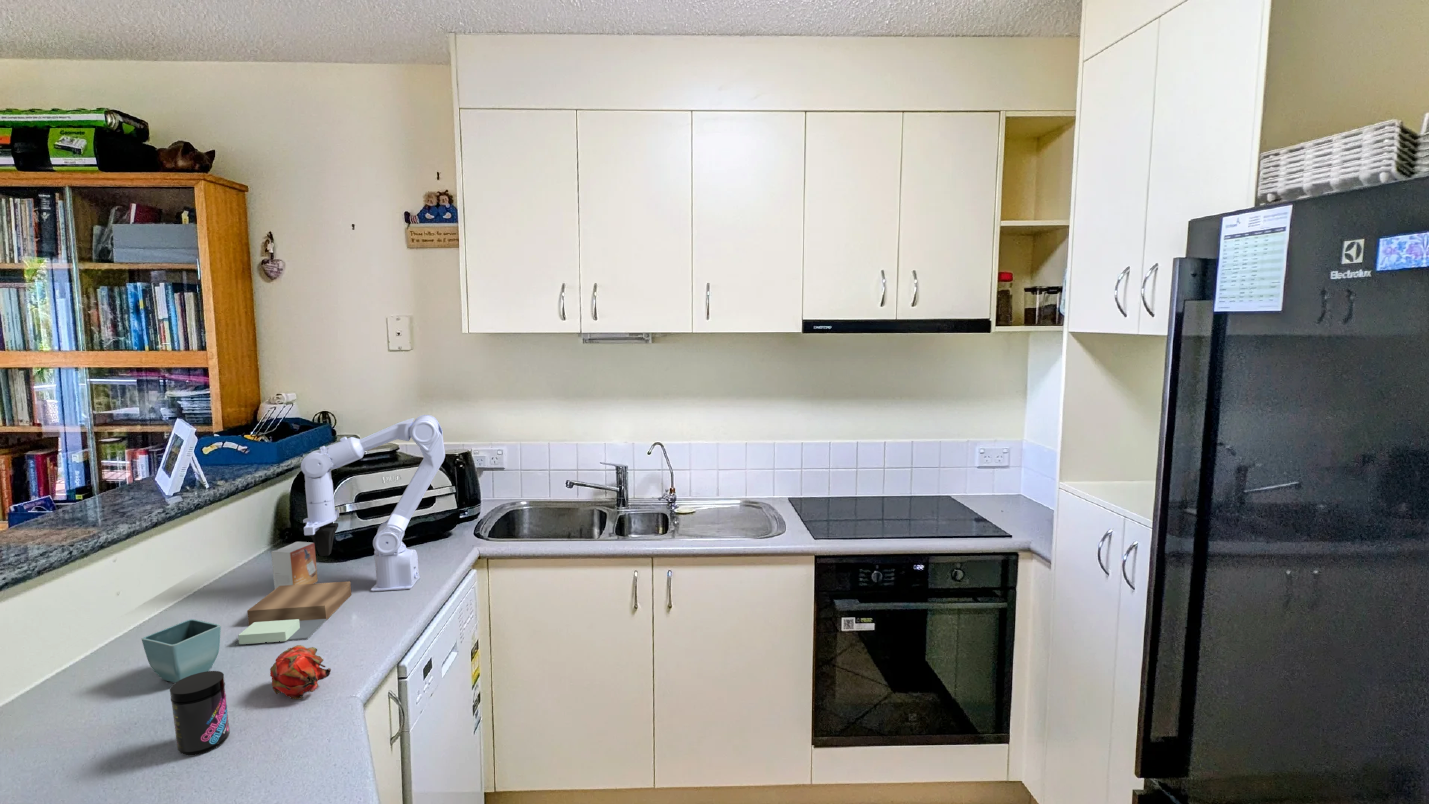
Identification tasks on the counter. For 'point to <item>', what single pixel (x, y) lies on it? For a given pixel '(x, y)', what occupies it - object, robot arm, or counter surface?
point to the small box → (294, 564)
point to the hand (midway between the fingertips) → (325, 554)
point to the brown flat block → (300, 602)
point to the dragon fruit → (297, 671)
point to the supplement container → (200, 712)
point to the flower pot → (183, 649)
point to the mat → (304, 629)
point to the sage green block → (269, 631)
